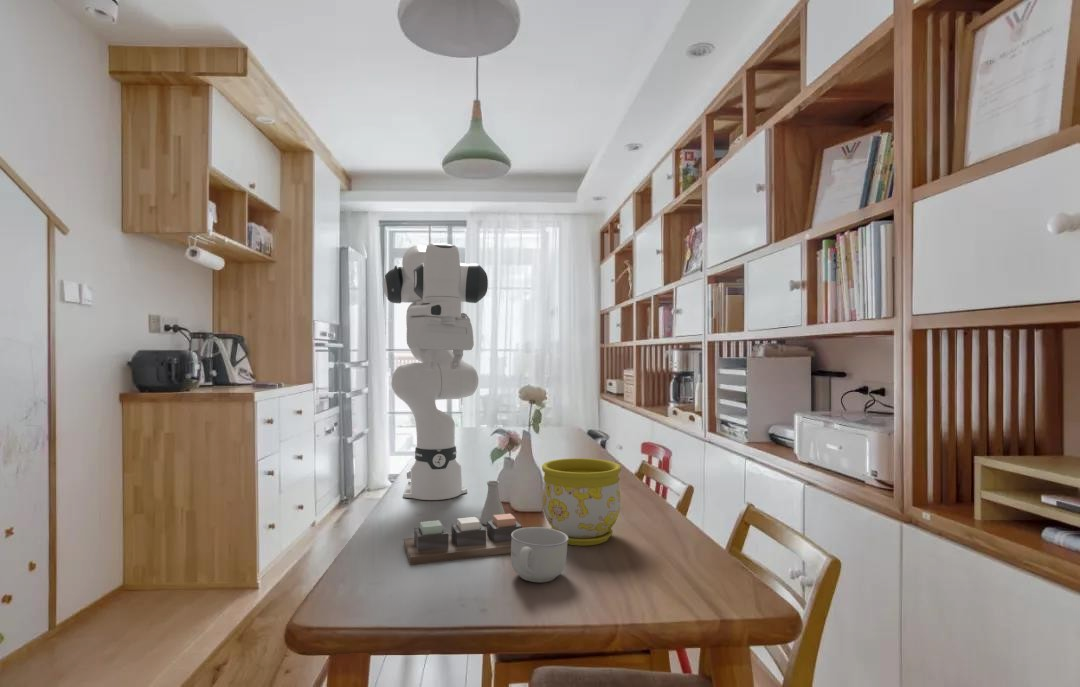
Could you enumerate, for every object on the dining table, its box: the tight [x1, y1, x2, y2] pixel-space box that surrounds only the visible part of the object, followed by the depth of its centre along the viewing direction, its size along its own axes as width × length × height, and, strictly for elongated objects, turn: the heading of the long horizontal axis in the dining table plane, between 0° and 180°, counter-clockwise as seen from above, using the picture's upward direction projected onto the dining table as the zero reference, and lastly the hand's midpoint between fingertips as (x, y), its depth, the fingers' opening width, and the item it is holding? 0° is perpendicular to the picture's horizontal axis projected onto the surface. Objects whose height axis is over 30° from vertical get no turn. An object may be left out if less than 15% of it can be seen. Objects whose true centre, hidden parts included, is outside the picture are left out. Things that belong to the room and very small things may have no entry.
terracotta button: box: [493, 513, 517, 527], centre depth 129 cm, size 4×4×2 cm
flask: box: [478, 480, 506, 526], centre depth 146 cm, size 7×7×10 cm
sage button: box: [419, 520, 443, 535], centre depth 123 cm, size 4×4×2 cm
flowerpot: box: [541, 457, 622, 547], centre depth 134 cm, size 18×18×16 cm
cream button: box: [456, 516, 480, 531], centre depth 126 cm, size 4×4×2 cm
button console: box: [403, 520, 523, 566], centre depth 126 cm, size 12×26×4 cm, turn 109°
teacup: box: [510, 526, 568, 583], centre depth 109 cm, size 14×11×8 cm
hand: (442, 369), depth 138 cm, fingers open, 8 cm apart
